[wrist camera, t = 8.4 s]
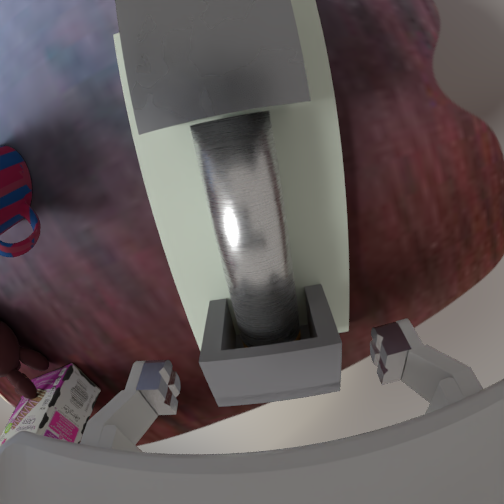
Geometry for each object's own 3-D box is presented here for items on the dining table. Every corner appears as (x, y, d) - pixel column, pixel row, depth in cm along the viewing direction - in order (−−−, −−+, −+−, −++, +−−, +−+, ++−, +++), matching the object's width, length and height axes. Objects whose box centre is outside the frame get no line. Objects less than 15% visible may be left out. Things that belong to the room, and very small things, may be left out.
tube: (197, 123, 16) (181, 127, 12) (267, 110, 16) (272, 110, 12) (245, 331, 23) (244, 370, 19) (297, 323, 22) (305, 361, 19)
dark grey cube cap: (153, 20, 13) (114, -10, 8) (269, -4, 12) (277, -48, 7) (173, 126, 16) (138, 134, 11) (290, 103, 16) (310, 101, 10)
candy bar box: (71, 359, 26) (12, 487, 12) (102, 388, 28) (59, 514, 14) (29, 376, 29) (-19, 473, 14) (56, 401, 31) (17, 497, 16)
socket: (209, 300, 21) (198, 362, 16) (321, 283, 21) (341, 342, 15) (223, 345, 23) (218, 406, 18) (323, 331, 23) (340, 390, 17)
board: (119, 37, 14) (113, 35, 13) (310, -2, 13) (313, -7, 12) (202, 344, 25) (200, 352, 24) (345, 323, 24) (348, 331, 23)
